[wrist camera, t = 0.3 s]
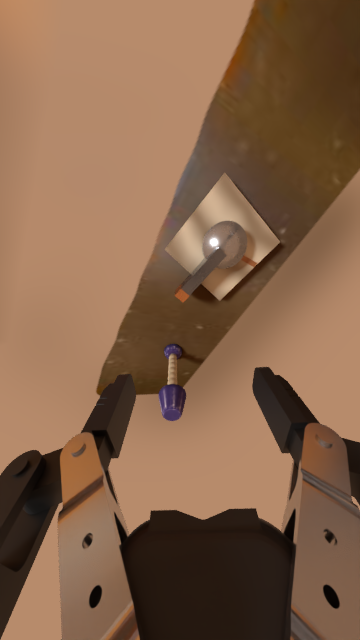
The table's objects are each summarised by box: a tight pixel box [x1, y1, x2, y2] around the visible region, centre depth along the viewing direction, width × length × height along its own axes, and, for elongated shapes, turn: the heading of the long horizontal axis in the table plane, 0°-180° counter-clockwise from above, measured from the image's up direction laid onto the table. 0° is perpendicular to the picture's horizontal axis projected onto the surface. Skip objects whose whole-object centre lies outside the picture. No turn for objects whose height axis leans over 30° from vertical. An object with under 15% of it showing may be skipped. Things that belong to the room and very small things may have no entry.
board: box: [165, 173, 280, 301], centre depth 29 cm, size 14×14×2 cm
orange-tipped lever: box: [175, 221, 247, 302], centre depth 28 cm, size 15×7×4 cm, turn 138°
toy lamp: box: [159, 344, 186, 421], centre depth 33 cm, size 5×5×17 cm
